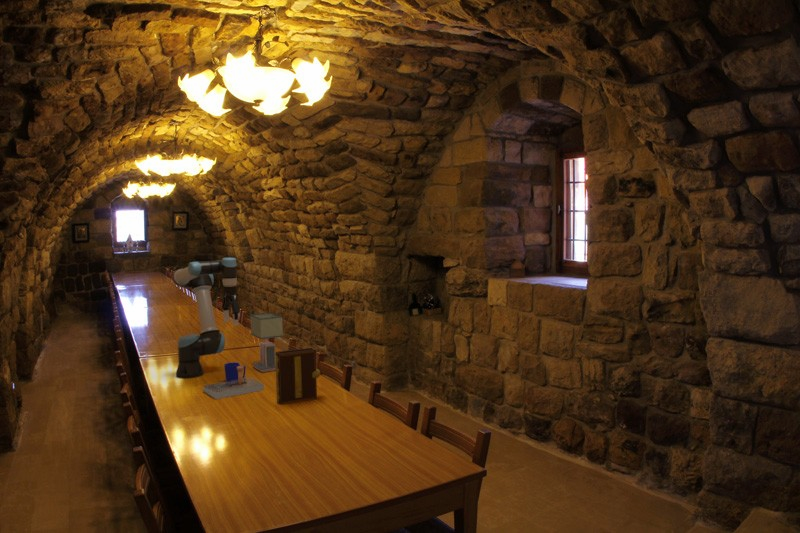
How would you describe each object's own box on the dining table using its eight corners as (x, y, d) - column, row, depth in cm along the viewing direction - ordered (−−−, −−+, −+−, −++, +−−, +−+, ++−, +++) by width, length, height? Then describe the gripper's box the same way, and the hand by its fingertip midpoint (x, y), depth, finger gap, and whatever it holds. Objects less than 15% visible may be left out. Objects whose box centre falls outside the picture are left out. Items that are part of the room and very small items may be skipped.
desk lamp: (251, 367, 366) (249, 314, 364) (273, 364, 374) (272, 312, 371) (261, 373, 351) (259, 318, 348) (284, 370, 358) (282, 316, 356)
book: (280, 405, 288) (278, 354, 286) (275, 401, 296) (273, 351, 294) (323, 398, 298) (321, 349, 297) (317, 394, 306) (316, 346, 304)
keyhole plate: (215, 399, 300) (215, 392, 300) (203, 392, 314) (203, 385, 313) (263, 389, 316) (263, 383, 316) (250, 383, 329) (250, 377, 329)
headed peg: (234, 389, 318) (233, 366, 317) (243, 387, 321) (242, 365, 320) (238, 391, 314) (237, 368, 313) (247, 389, 317) (246, 366, 316)
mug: (242, 384, 328) (241, 366, 327) (222, 383, 330) (221, 365, 330) (249, 380, 336) (248, 362, 335) (229, 379, 338) (228, 362, 338)
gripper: (215, 284, 336) (216, 321, 338) (231, 288, 316) (233, 327, 318) (227, 283, 340) (229, 319, 342) (245, 287, 321) (246, 326, 322)
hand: (230, 323), depth 330 cm, fingers open, 13 cm apart
